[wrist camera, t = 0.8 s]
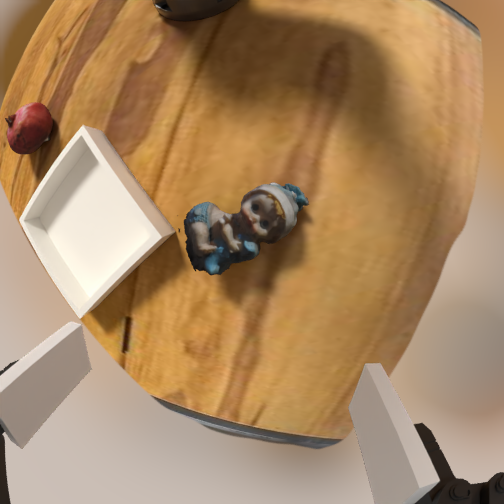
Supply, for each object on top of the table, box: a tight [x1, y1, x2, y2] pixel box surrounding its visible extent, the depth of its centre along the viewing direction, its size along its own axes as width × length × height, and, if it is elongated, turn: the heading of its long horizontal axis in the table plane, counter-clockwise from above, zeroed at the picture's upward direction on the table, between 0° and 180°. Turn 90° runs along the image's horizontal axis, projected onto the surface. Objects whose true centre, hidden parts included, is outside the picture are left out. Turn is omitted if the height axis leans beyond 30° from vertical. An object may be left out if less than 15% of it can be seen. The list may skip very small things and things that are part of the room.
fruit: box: [5, 102, 53, 154], centre depth 29 cm, size 9×10×10 cm
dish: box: [19, 125, 176, 319], centre depth 34 cm, size 20×20×5 cm
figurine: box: [178, 183, 309, 275], centre depth 31 cm, size 9×8×15 cm
